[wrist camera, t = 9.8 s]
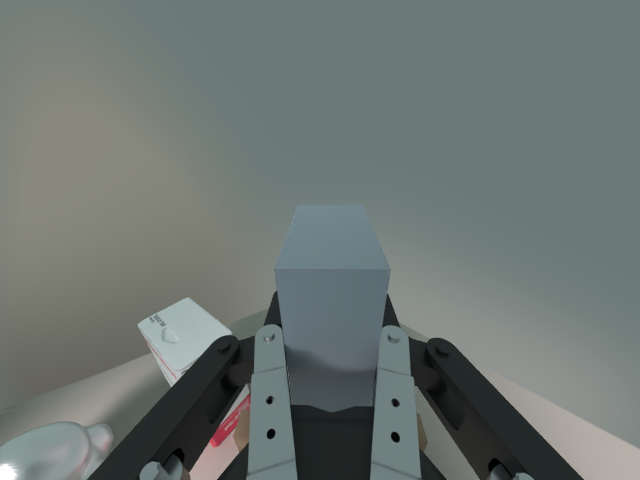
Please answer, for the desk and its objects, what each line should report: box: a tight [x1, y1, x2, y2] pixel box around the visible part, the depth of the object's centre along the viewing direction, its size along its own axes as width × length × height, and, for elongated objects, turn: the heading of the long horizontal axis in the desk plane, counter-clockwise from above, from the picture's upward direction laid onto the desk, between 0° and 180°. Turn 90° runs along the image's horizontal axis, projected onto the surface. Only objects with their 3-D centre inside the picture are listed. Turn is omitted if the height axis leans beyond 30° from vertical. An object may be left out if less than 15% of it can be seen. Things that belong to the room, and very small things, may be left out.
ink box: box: [137, 297, 251, 447], centre depth 23 cm, size 8×5×12 cm, turn 54°
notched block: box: [274, 205, 390, 412], centre depth 14 cm, size 4×7×12 cm, turn 178°
